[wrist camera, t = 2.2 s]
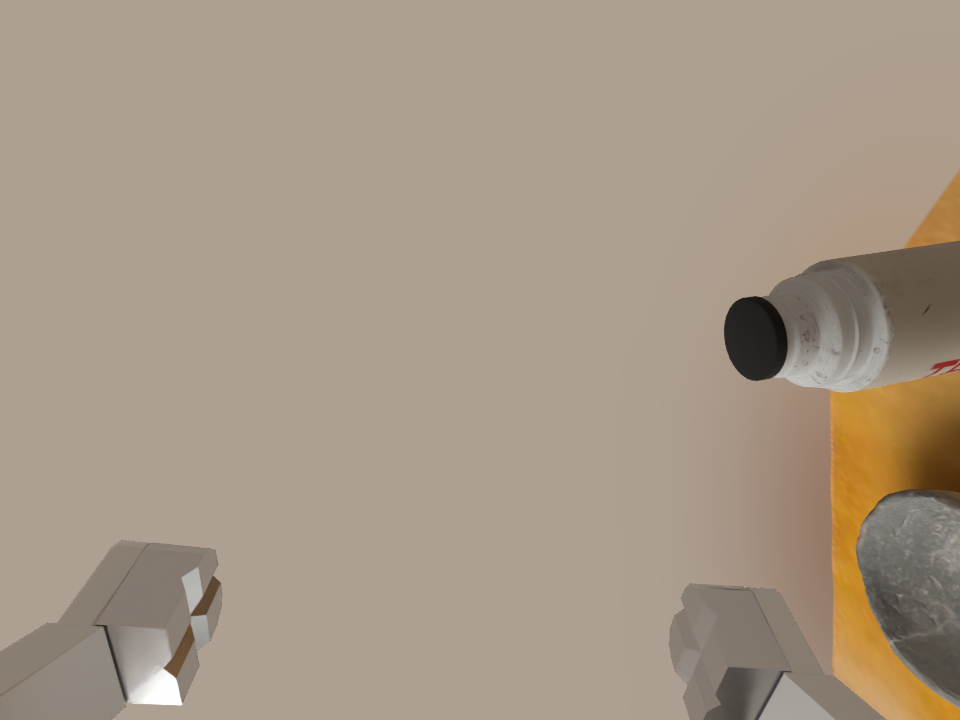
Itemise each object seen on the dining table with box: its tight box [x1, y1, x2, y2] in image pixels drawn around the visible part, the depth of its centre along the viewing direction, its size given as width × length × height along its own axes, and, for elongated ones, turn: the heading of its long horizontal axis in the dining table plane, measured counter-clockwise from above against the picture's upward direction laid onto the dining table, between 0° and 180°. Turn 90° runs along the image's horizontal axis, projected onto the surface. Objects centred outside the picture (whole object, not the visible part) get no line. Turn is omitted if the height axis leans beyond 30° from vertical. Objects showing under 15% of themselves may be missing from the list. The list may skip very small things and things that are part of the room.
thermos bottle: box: [724, 241, 960, 392], centre depth 38 cm, size 8×8×28 cm
